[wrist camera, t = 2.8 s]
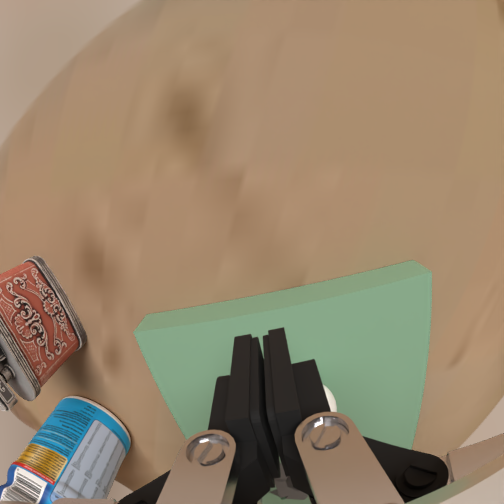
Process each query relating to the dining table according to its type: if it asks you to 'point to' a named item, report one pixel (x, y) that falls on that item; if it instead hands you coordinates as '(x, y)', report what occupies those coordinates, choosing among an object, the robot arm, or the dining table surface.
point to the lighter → (34, 330)
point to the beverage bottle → (69, 455)
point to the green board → (308, 351)
